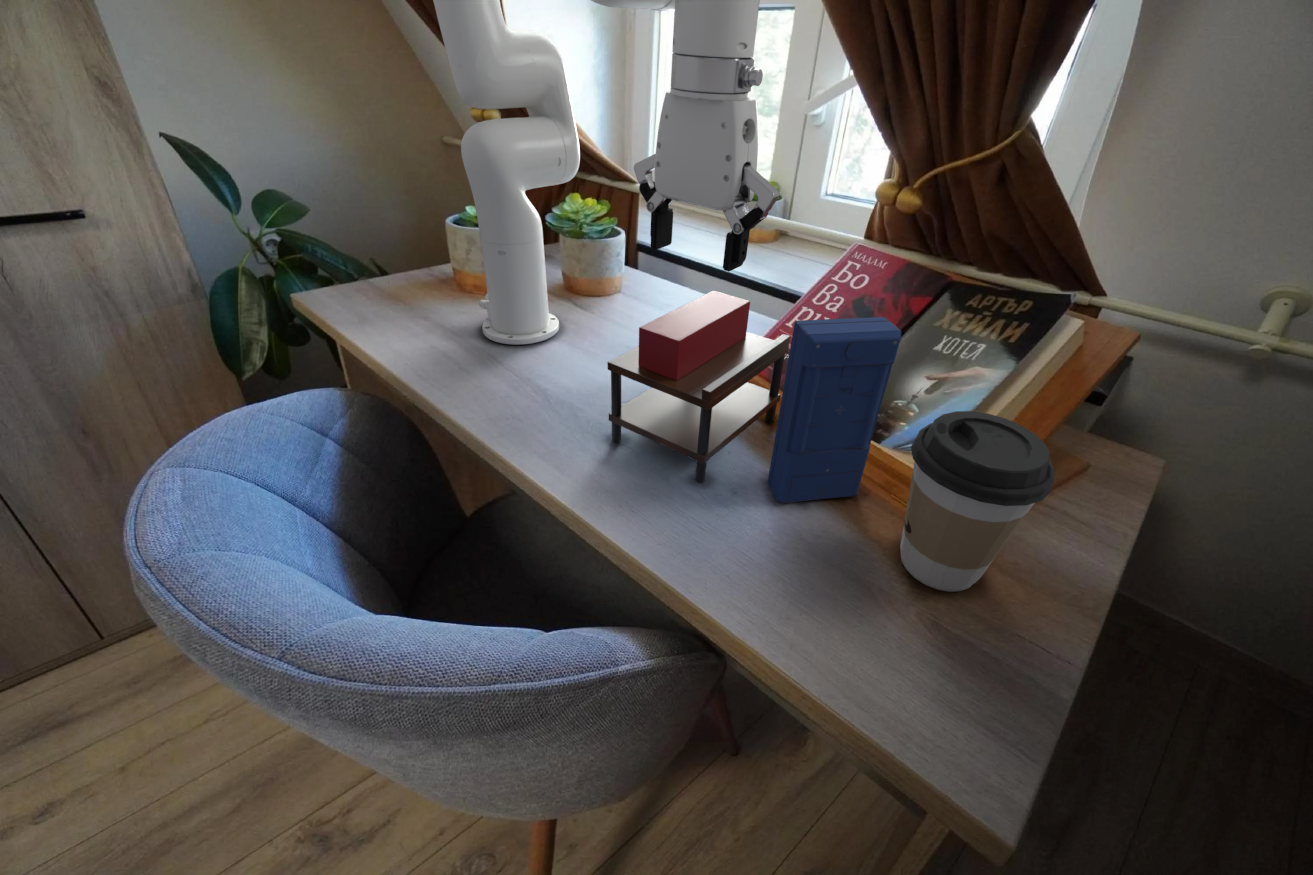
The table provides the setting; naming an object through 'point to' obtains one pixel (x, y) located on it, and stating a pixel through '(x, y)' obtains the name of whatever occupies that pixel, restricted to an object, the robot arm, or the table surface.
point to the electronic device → (830, 406)
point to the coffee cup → (969, 495)
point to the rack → (700, 399)
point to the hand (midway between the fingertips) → (695, 257)
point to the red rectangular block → (692, 334)
